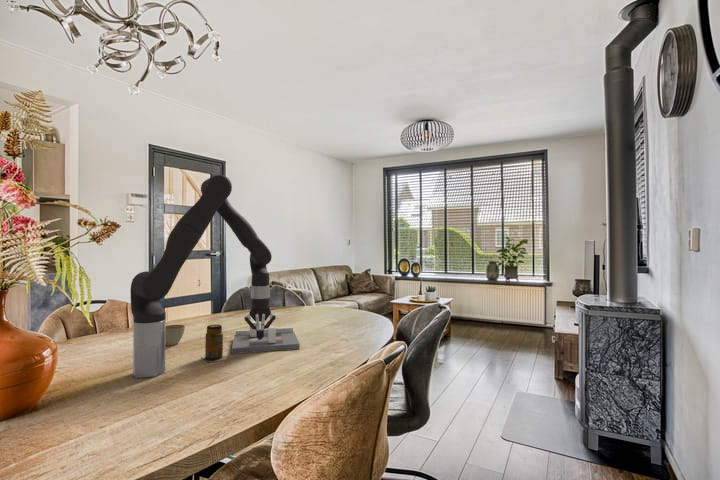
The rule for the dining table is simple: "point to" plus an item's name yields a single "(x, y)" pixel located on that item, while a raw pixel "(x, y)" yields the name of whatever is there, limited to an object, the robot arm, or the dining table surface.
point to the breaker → (253, 330)
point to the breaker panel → (264, 341)
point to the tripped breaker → (271, 334)
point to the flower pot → (174, 334)
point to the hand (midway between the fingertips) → (260, 339)
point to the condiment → (214, 344)
